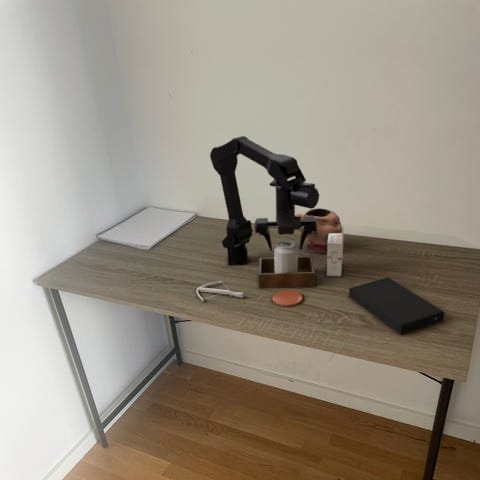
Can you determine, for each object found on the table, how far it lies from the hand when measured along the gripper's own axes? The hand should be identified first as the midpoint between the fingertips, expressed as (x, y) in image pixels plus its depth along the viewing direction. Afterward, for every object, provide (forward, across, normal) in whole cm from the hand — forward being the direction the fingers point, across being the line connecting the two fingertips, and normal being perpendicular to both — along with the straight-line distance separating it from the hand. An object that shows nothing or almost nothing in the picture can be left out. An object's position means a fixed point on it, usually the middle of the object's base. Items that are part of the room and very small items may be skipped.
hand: (285, 250), depth 147 cm
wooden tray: (+10, 0, 0) cm, 10 cm away
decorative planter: (+10, +12, +24) cm, 28 cm away
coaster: (+10, 0, -14) cm, 17 cm away
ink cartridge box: (+10, +16, +4) cm, 20 cm away
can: (+10, 0, 0) cm, 10 cm away
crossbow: (+10, -21, -10) cm, 25 cm away
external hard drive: (+10, +30, -21) cm, 38 cm away
